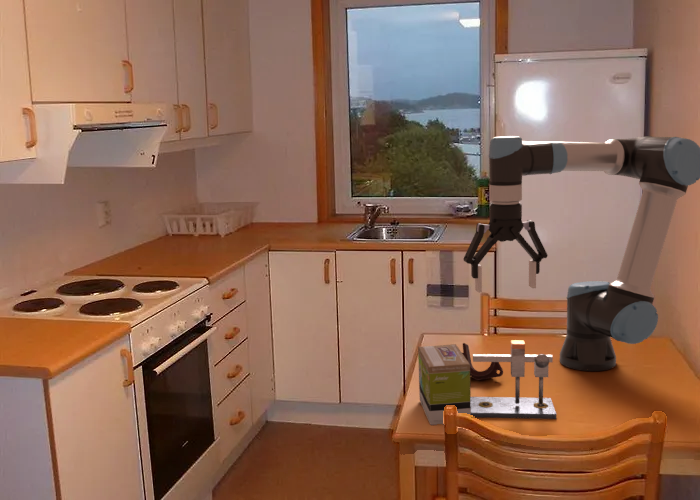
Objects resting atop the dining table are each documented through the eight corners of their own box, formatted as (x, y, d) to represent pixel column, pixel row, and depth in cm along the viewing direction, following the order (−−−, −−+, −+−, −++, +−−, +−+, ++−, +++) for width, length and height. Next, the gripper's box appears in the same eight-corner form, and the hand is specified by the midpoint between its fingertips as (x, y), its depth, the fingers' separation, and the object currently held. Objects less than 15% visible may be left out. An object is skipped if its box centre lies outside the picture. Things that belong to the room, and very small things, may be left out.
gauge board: (550, 402, 190) (550, 397, 190) (556, 419, 180) (556, 413, 180) (468, 401, 192) (468, 396, 192) (469, 417, 183) (469, 412, 182)
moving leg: (523, 400, 187) (523, 340, 184) (524, 405, 184) (524, 344, 181) (510, 400, 187) (510, 340, 184) (511, 405, 185) (511, 343, 182)
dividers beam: (550, 401, 186) (551, 351, 184) (552, 405, 183) (553, 355, 181) (472, 400, 188) (472, 350, 186) (473, 404, 186) (473, 354, 183)
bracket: (502, 375, 202) (495, 337, 204) (438, 385, 206) (432, 348, 208) (504, 376, 208) (497, 339, 210) (442, 385, 212) (436, 349, 214)
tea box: (418, 401, 193) (417, 345, 190) (457, 399, 194) (457, 342, 191) (429, 426, 179) (428, 365, 176) (472, 423, 179) (471, 362, 177)
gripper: (549, 197, 189) (548, 281, 193) (450, 203, 185) (451, 289, 189) (562, 201, 181) (560, 288, 185) (459, 207, 178) (460, 296, 182)
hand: (505, 289), depth 187 cm, fingers open, 13 cm apart
